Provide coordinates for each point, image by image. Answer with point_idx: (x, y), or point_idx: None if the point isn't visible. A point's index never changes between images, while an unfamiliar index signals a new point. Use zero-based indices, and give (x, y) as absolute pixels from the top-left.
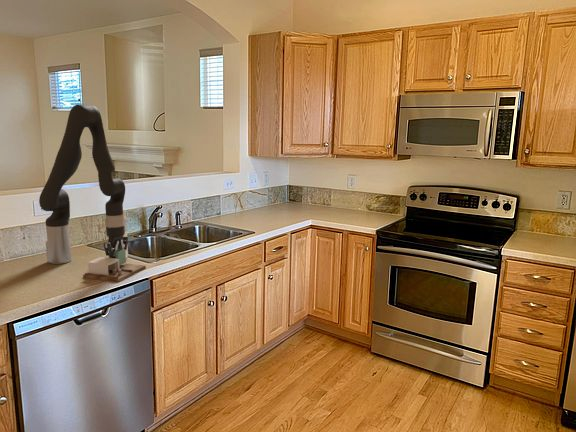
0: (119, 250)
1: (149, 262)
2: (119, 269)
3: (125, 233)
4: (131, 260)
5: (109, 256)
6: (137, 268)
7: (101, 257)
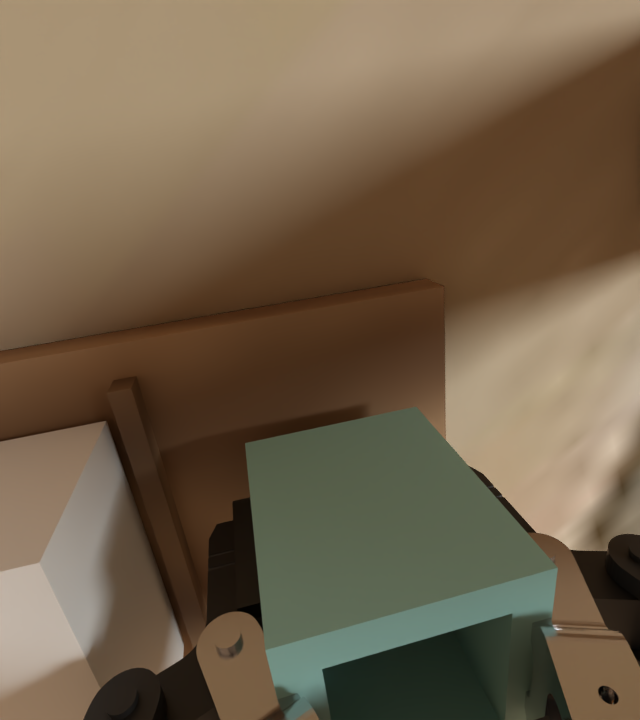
0: (489, 645)
1: (597, 542)
2: (180, 654)
3: None
4: (629, 350)
5: (258, 552)
6: None
7: (22, 597)
